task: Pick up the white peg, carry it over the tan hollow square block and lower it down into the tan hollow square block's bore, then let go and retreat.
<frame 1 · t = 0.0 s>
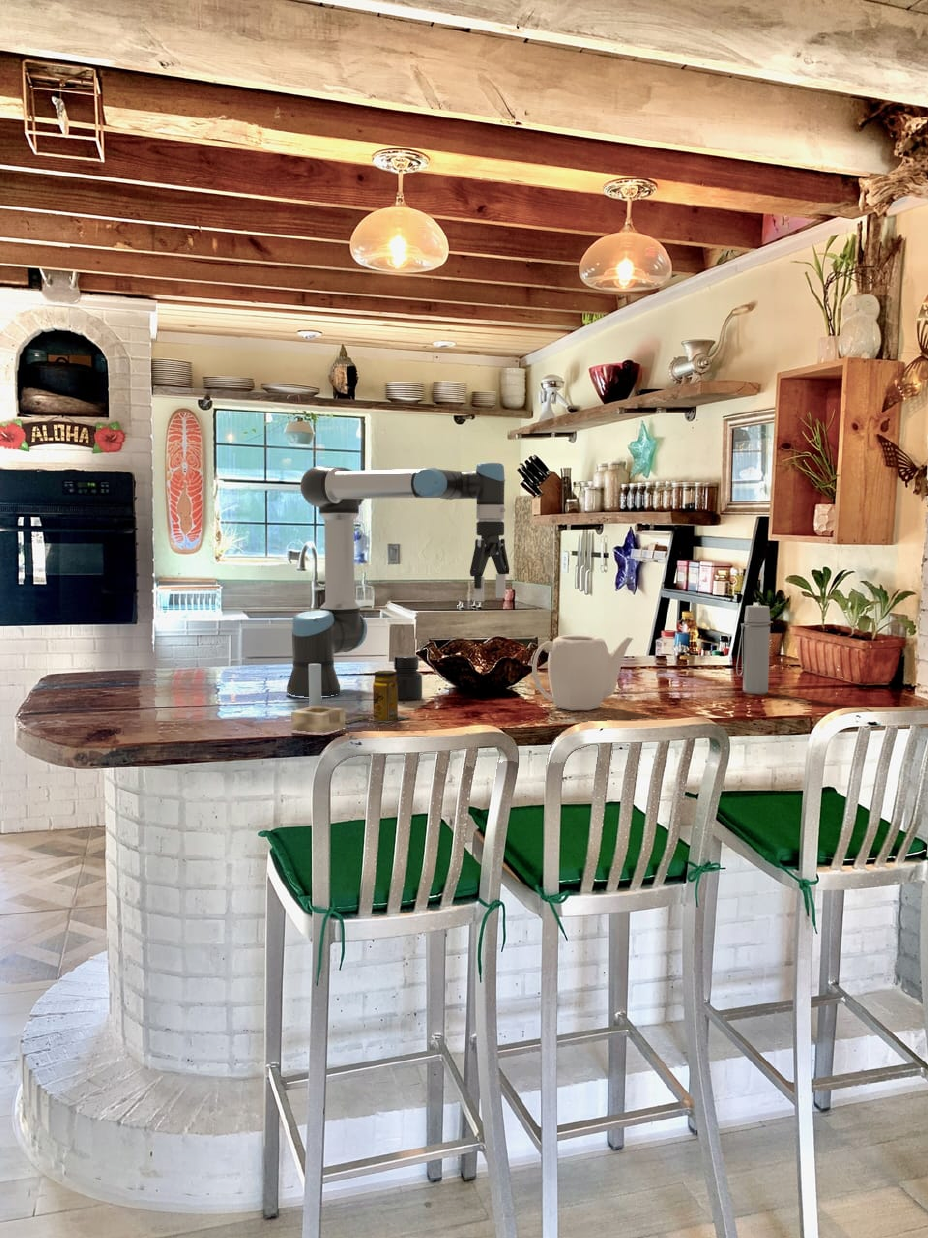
hand: (490, 599, 262), 28 cm above the table, tool pointing down, fingers open, 13 cm apart
water bottle: (752, 693, 278), on the table
condiment: (388, 719, 241), on the table
ink bottle: (406, 699, 268), on the table
watering can: (582, 708, 256), on the table
white peg: (315, 720, 238), on the table
tan hollow square block: (318, 731, 226), on the table
lace: (350, 722, 236), on the table
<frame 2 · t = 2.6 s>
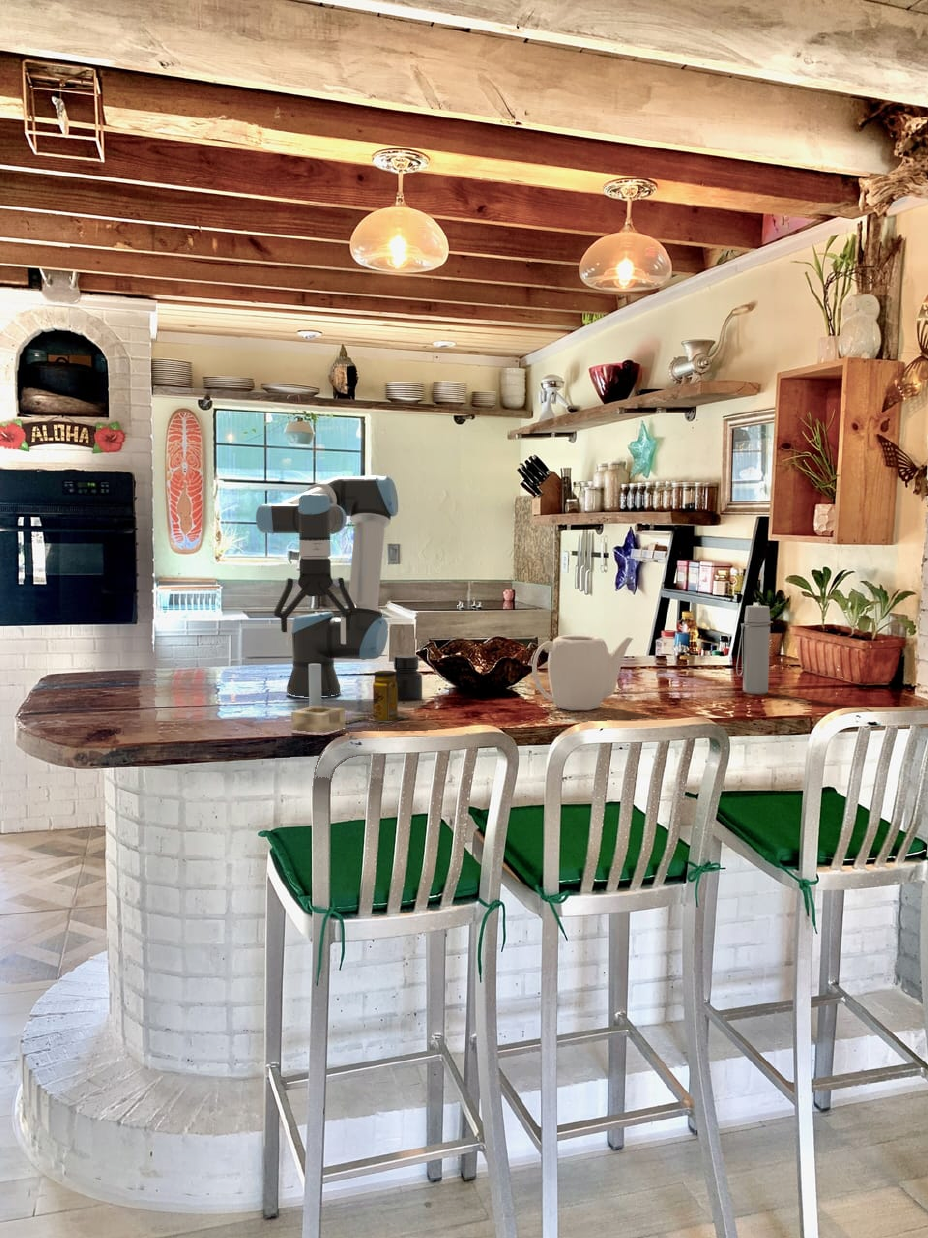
hand: (316, 644, 237), 19 cm above the table, tool pointing down, fingers open, 13 cm apart
nothing on the table moved.
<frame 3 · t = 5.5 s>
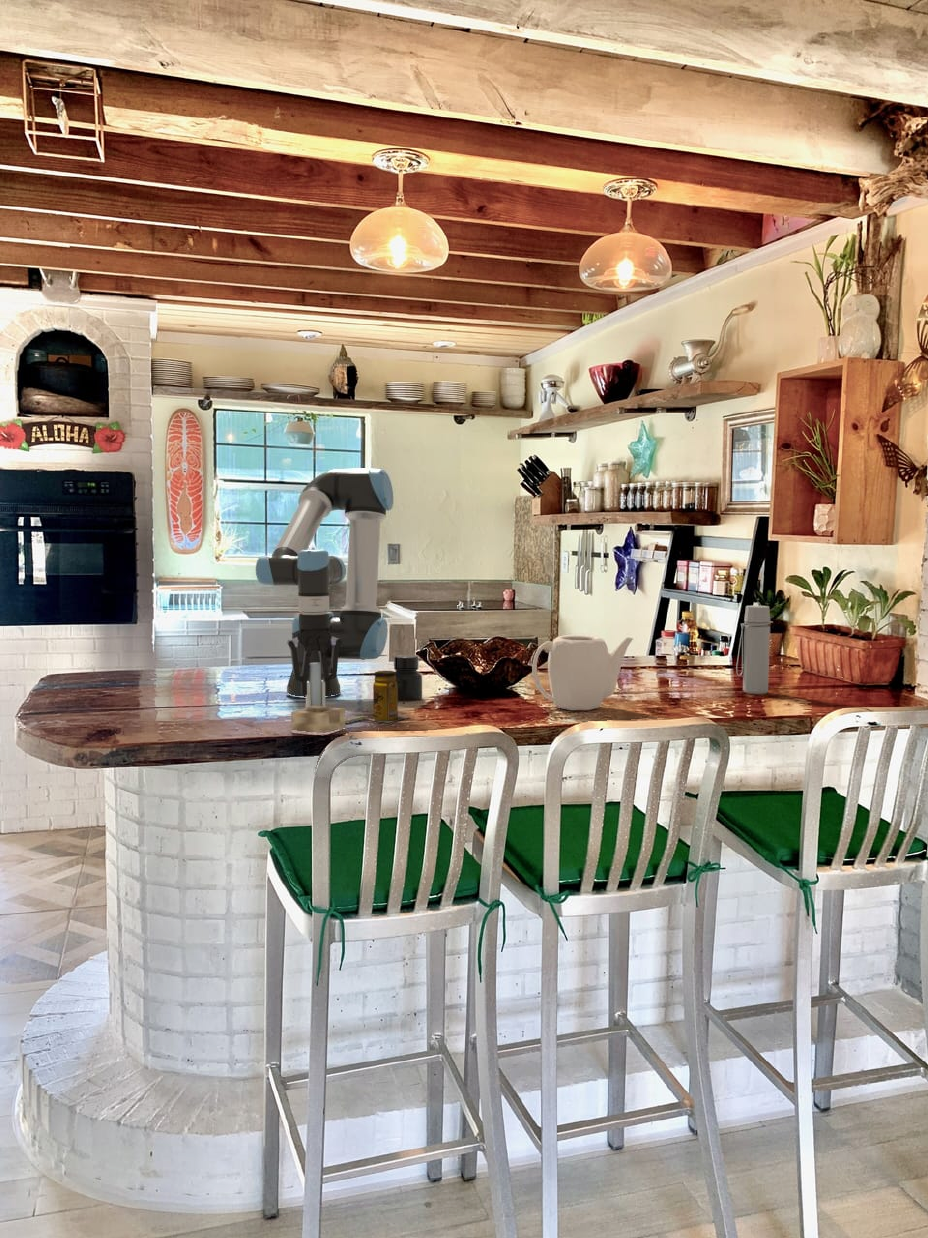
hand: (315, 707, 238), 3 cm above the table, tool pointing down, fingers closed on white peg, 3 cm apart
white peg: (315, 719, 239), on the table, touching gripper
everything else where it was.
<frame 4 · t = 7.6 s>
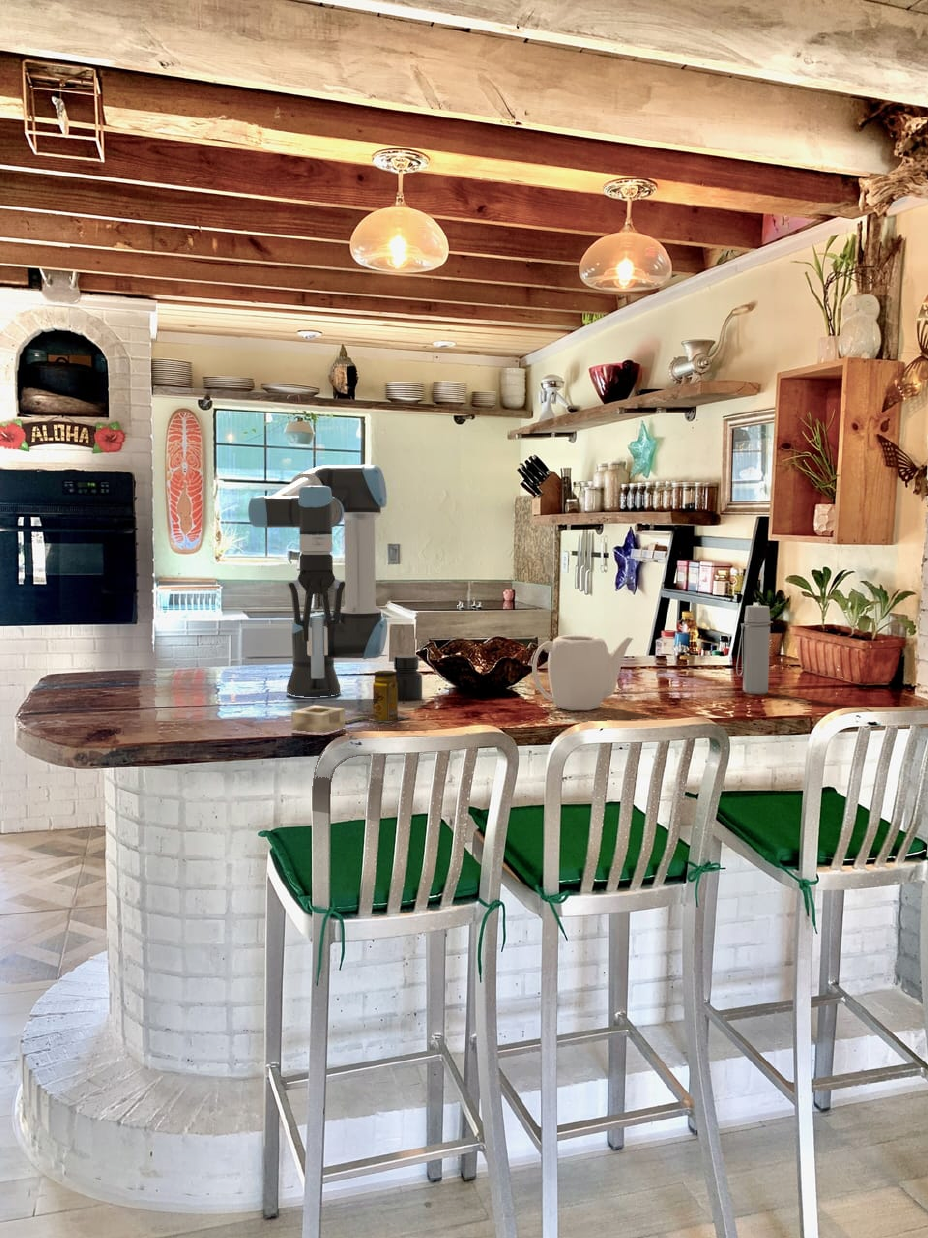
hand: (317, 654, 224), 18 cm above the table, tool pointing down, fingers closed on white peg, 3 cm apart
white peg: (317, 677, 225), point 13 cm above the table, touching gripper
everything else where it was.
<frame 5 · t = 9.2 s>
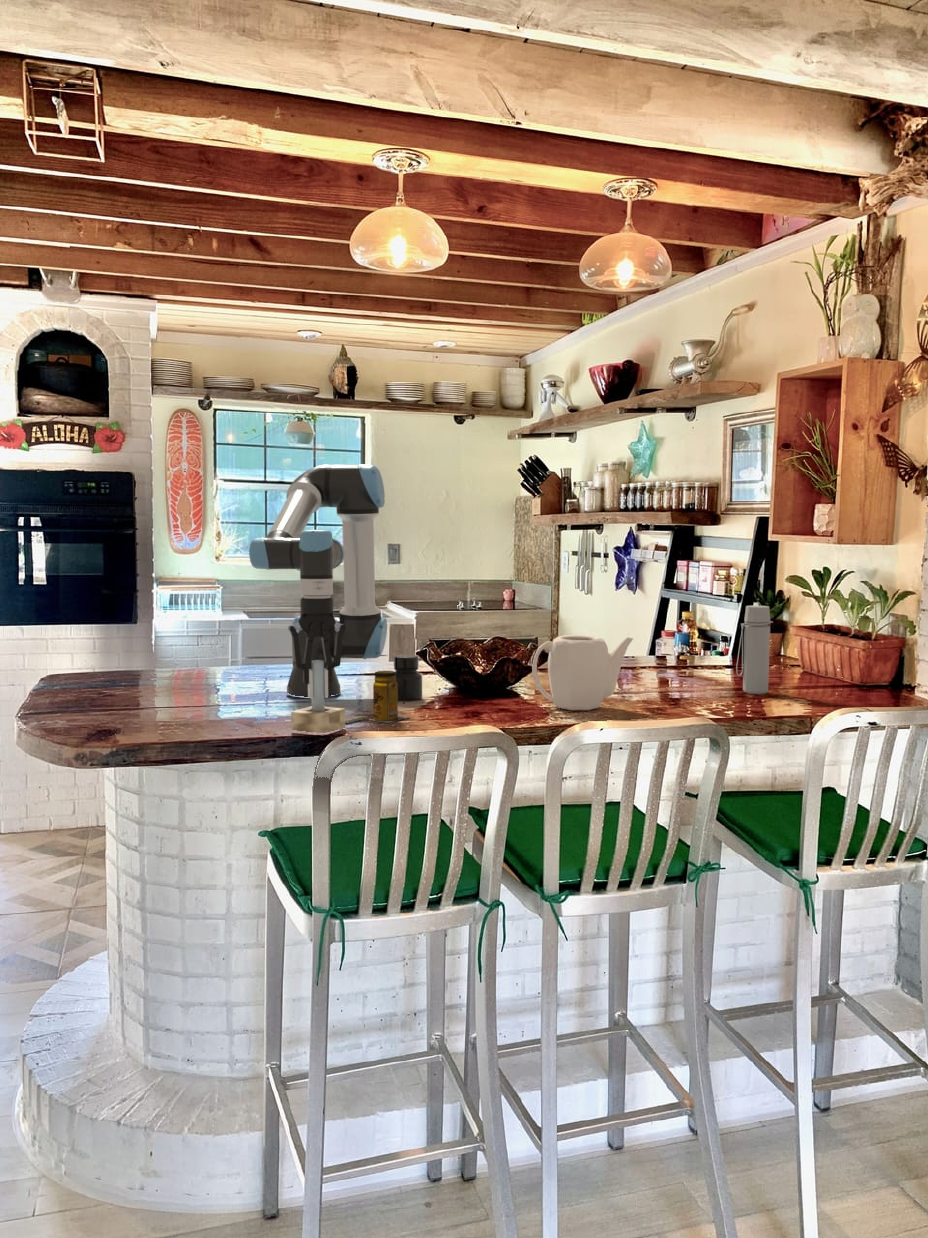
hand: (318, 697, 225), 8 cm above the table, tool pointing down, fingers closed on white peg, 3 cm apart
white peg: (318, 720, 225), point 3 cm above the table, touching gripper
everything else where it was.
when the fingers open (6 cm above the table, at t = 10.3 s): white peg stays where it is, resting in tan hollow square block.
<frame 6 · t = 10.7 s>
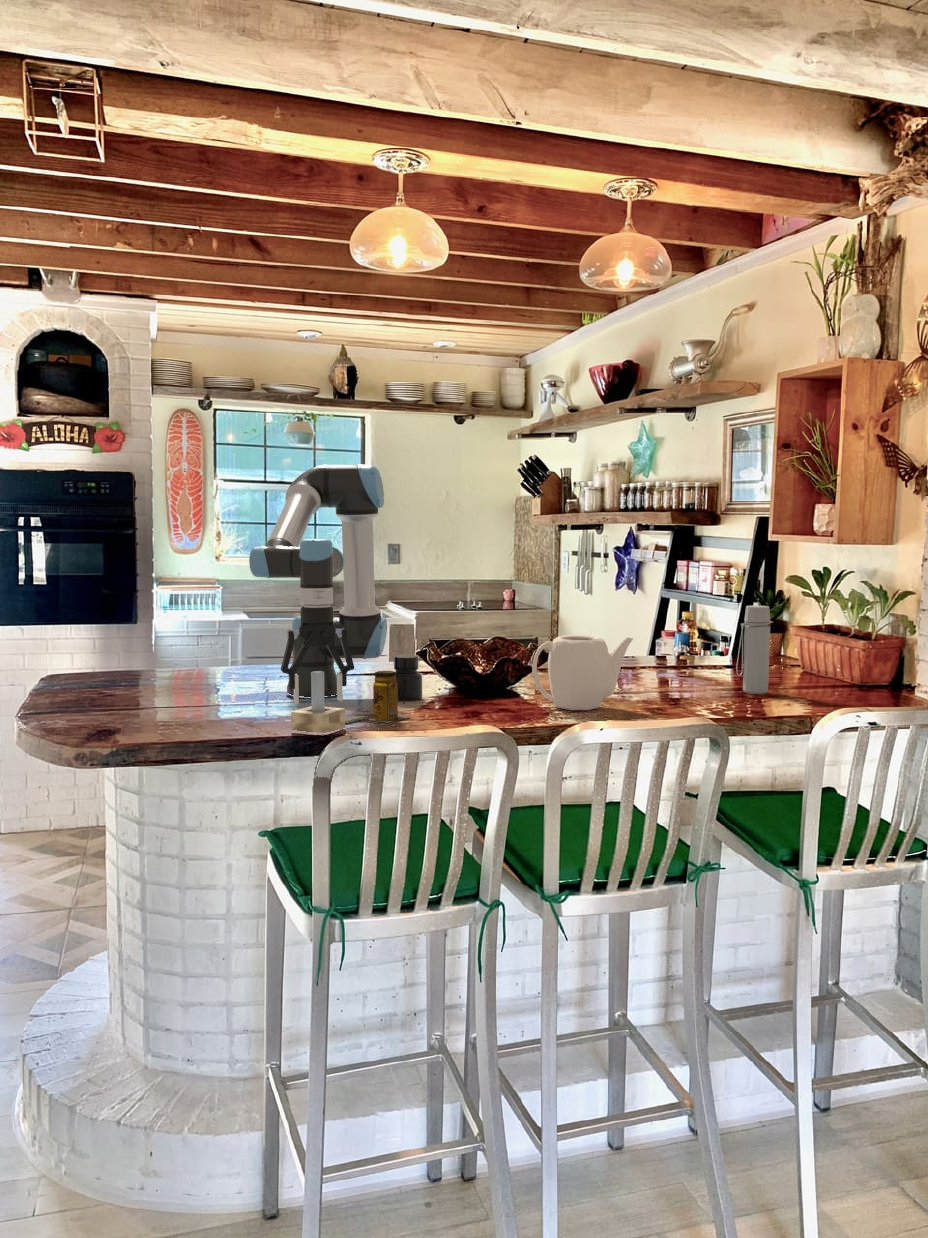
hand: (318, 701, 225), 7 cm above the table, tool pointing down, fingers open, 9 cm apart
white peg: (318, 731, 226), resting in tan hollow square block
everything else where it was.
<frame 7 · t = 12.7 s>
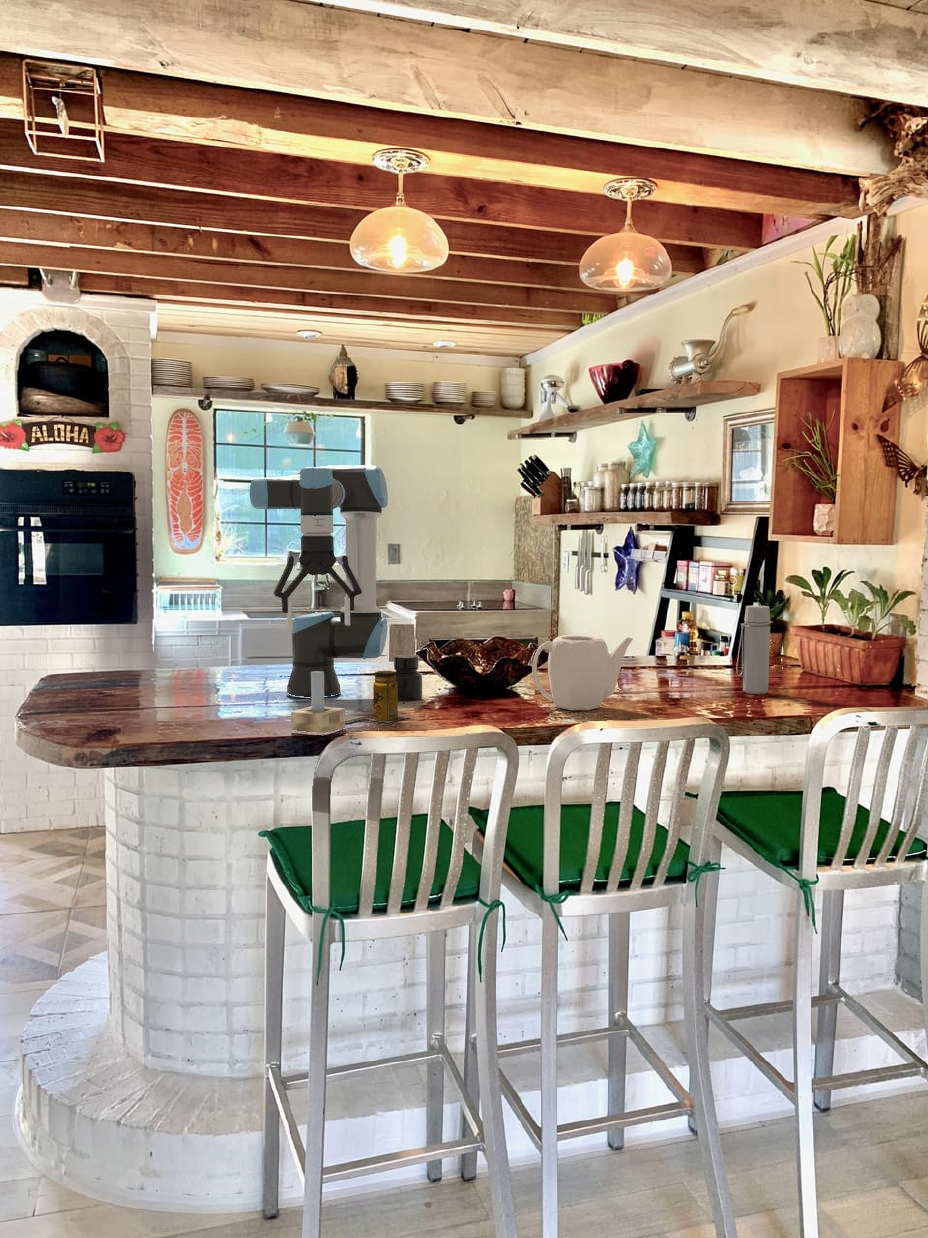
hand: (318, 626, 225), 25 cm above the table, tool pointing down, fingers open, 13 cm apart
nothing on the table moved.
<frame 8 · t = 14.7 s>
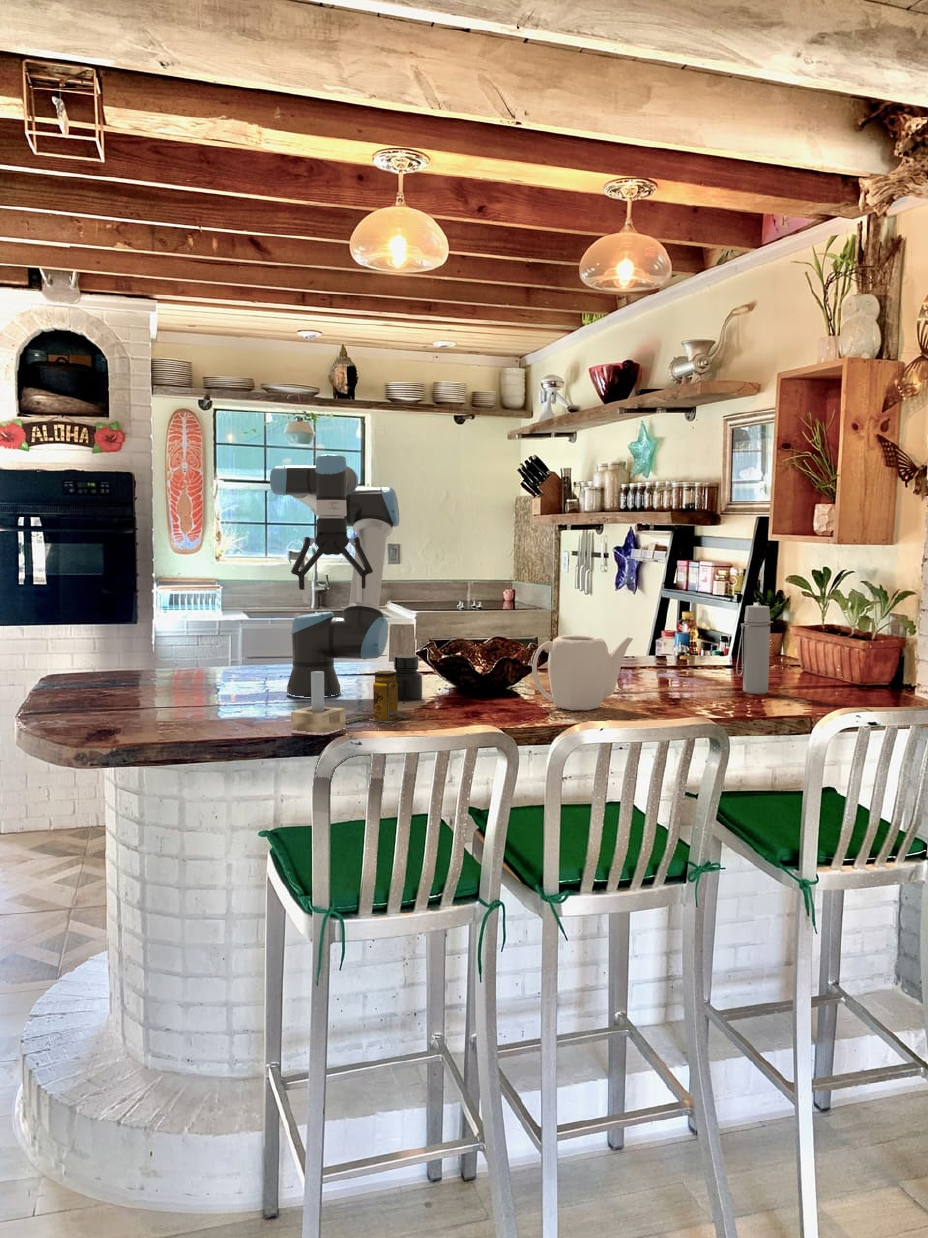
hand: (332, 602, 243), 29 cm above the table, tool pointing down, fingers open, 13 cm apart
nothing on the table moved.
at the end: white peg 0.0 cm off-centre on the tan hollow square block, point 0.0 cm above the tan hollow square block's base; white peg tilted 0°; the gripper is holding nothing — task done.
